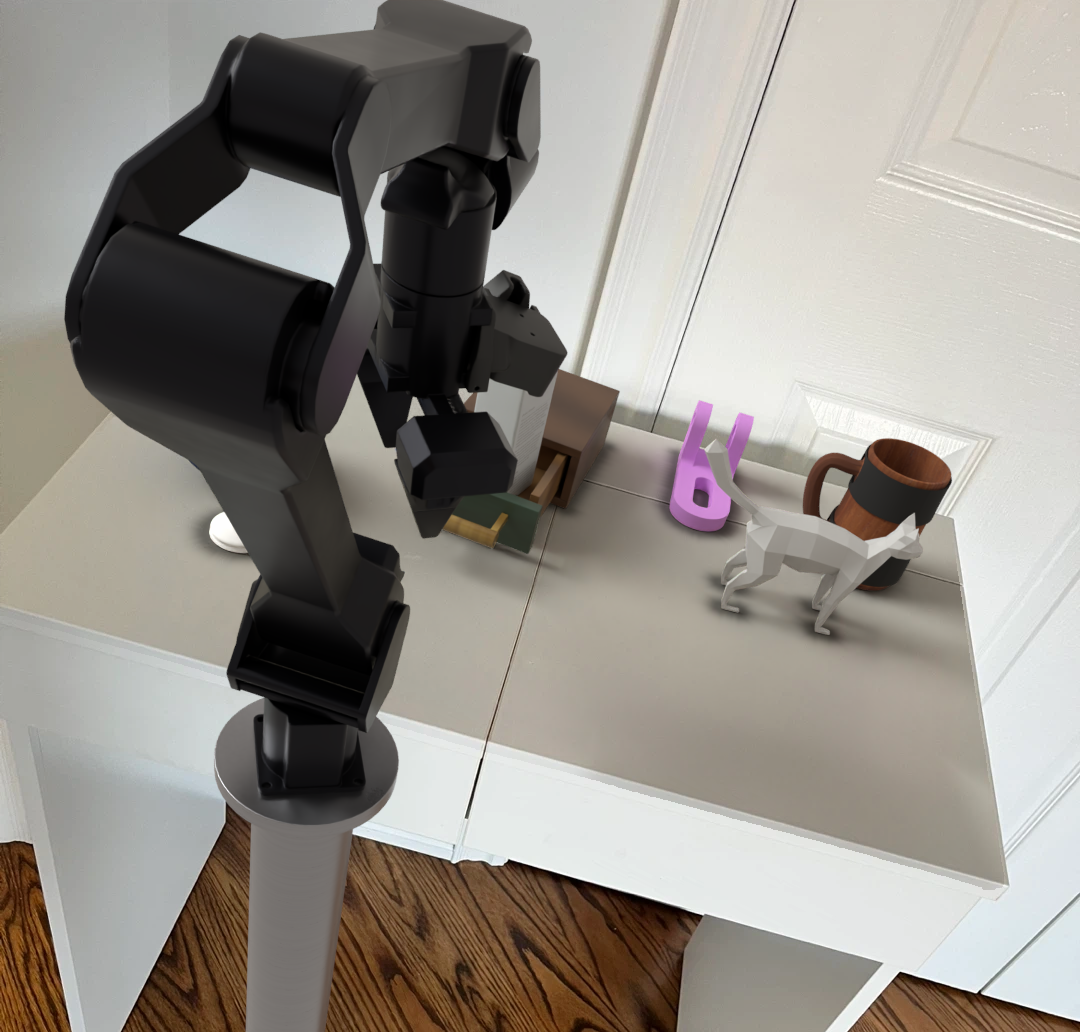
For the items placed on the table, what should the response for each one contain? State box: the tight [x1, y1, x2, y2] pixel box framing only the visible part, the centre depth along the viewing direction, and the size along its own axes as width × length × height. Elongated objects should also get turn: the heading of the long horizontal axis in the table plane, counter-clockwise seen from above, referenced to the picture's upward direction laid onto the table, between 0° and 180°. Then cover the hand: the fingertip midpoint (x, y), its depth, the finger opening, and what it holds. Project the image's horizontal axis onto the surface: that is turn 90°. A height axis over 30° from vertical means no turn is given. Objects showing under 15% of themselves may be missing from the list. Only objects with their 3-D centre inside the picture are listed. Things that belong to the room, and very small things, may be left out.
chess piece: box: [209, 511, 248, 554], centre depth 77 cm, size 5×5×10 cm
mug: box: [802, 437, 953, 592], centre depth 93 cm, size 9×12×12 cm
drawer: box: [441, 445, 570, 555], centre depth 87 cm, size 17×10×4 cm, turn 162°
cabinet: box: [463, 368, 621, 510], centre depth 96 cm, size 14×12×6 cm
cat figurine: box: [704, 438, 924, 636], centre depth 84 cm, size 4×20×14 cm, turn 83°
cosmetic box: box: [474, 371, 558, 496], centre depth 85 cm, size 6×4×12 cm
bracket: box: [668, 399, 755, 532], centre depth 98 cm, size 13×6×7 cm, turn 169°
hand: (409, 489), depth 68 cm, fingers open, 9 cm apart
